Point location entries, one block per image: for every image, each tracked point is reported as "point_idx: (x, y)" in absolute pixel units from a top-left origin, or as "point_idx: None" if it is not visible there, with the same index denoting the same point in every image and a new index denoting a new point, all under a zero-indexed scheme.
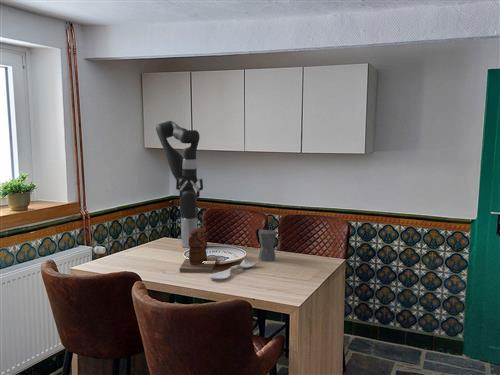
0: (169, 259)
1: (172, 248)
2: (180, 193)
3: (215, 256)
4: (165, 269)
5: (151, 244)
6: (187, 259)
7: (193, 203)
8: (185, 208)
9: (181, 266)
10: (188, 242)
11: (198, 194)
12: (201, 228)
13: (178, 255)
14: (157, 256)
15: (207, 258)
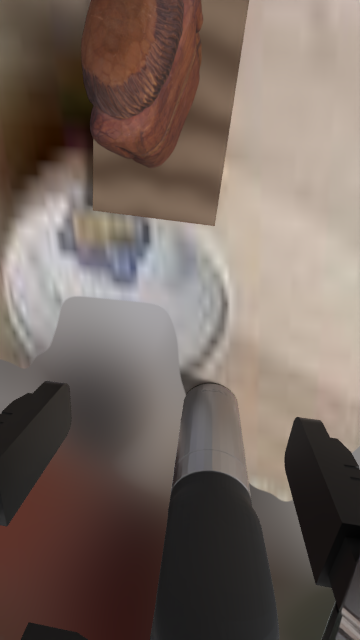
0: (287, 235)
1: (271, 383)
2: (351, 484)
3: (99, 210)
4: (311, 68)
5: (346, 440)
6: (213, 168)
7: (174, 563)
8: (230, 532)
9: (239, 36)
10: (202, 16)
11: (9, 419)
12: (90, 44)
13: (250, 290)
14: (334, 283)
15: (128, 180)
